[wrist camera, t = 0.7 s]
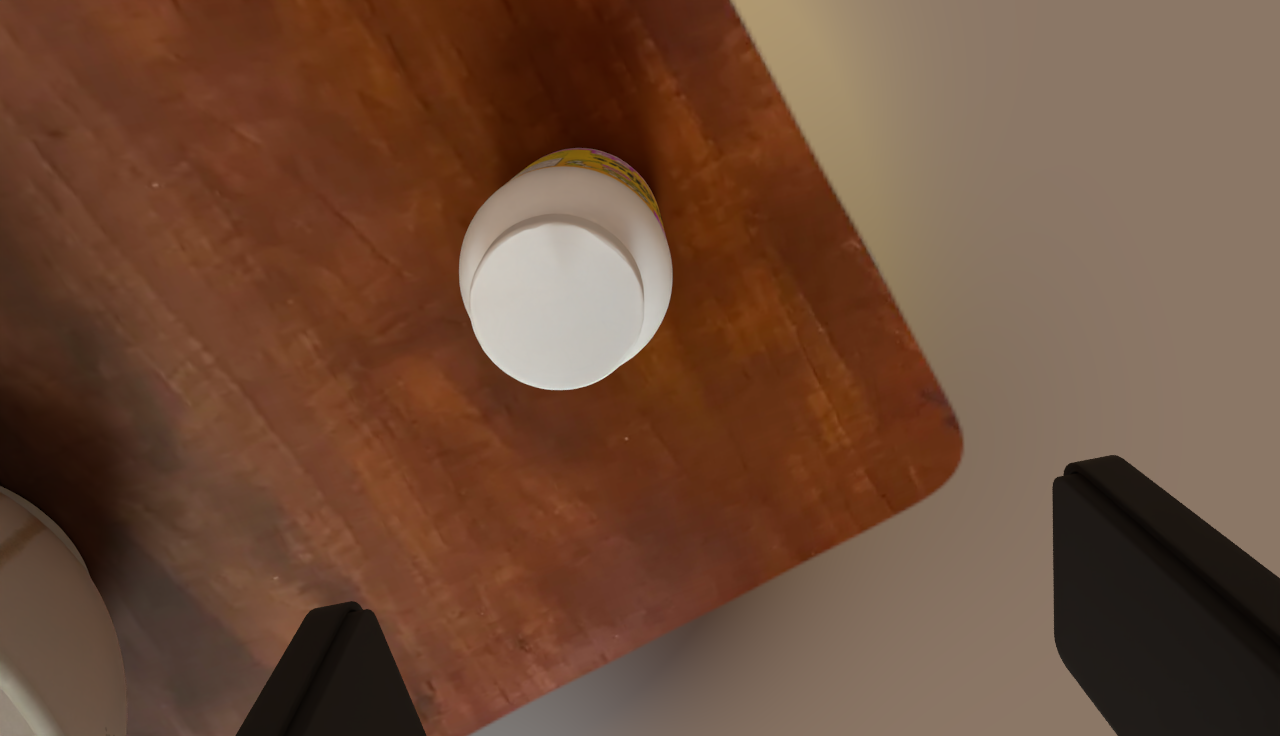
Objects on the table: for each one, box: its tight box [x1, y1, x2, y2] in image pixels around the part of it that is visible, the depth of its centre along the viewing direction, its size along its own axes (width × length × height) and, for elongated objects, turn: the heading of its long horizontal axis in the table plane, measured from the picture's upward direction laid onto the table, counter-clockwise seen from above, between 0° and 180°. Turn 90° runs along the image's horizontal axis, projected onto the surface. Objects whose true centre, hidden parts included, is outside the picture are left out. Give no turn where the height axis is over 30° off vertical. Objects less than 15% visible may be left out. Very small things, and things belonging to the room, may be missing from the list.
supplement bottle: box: [459, 148, 673, 390], centre depth 26 cm, size 7×7×13 cm
